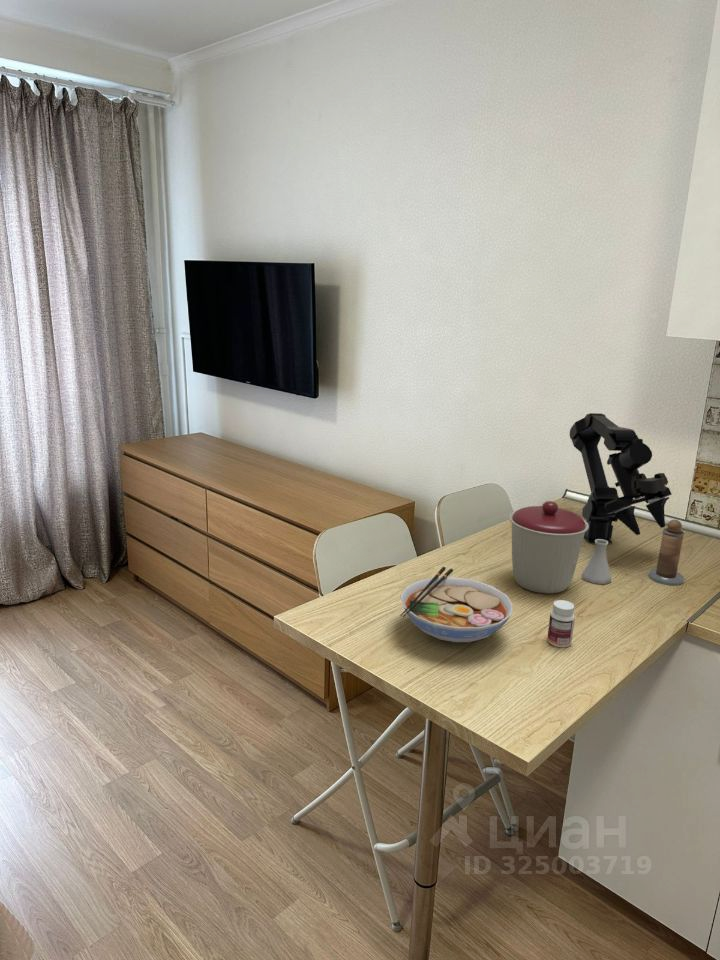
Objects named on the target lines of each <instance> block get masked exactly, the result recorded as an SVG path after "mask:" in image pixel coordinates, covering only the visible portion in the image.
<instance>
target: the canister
mask: <svg viewBox="0 0 720 960" xmlns="http://www.w3.org/2000/svg"><path fill="white" fill-rule="evenodd" d="M508 519H509V522H510V523H511V558H512V560H511V561H512V563H511V564H512V575H513V577H514V580H515V582H516V583H517V584H518V585H519V586H521V587H522V588H524V589H526V590H529V591H532V592H535V593H538V594H539V593H540V594H557V593H560V592H563V591H565V590H567V588H569V586H570V585H571V583H572V580H573V578H574V574H575V572H576V567H577V564H578V561H579V557H580V554H581V553H580V552H581V550H582V549H581V548H582V544H583V541H584V539H585V537H584V533H585V532H586V531H587V530H588V528H589V525H588V523H587V522H586V519H585V518H584V519H583V518H582V517H581V516H580V515H579V514H577V513H575V512H572V511H570V510H568V509H564V508H559V506H558V504H557V503H556V502H555V501H550V500H547V501H545V502H543V503H542V505H533V506H526V507H521V508H519V509H516V510H514V511H512V512H511V513H510V515H509V517H508Z"/></svg>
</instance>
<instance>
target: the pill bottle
mask: <svg viewBox="0 0 720 960" xmlns="http://www.w3.org/2000/svg"><path fill="white" fill-rule="evenodd" d="M552 604H553V605H552V610H551V611H550V613H549V622H548V630H547V638H546V639H547V640H546V641H547V642H548V643H549V644H551V646H552V645H553V646H554V647H557V648H566V647H567V648H568V647H570V646H571V645H572V641H573V633H574V626H575V619H576V616H575V614H574V612H575V605H574V603H572V602H571V601H568V600H562V599H557V600H554V602H553V603H552Z"/></svg>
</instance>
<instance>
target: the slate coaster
mask: <svg viewBox="0 0 720 960" xmlns="http://www.w3.org/2000/svg"><path fill="white" fill-rule="evenodd" d="M656 570H657V567H655V568H650V570H649V571H648V577H649V579H651V580H652V581H653V582H656V583H659V584H663V585H665V586H680V585H682V584H683V583H684V579H685V577H684V575H682V574H681V573H680V572H678V571H677V574H676V577H675V578H664V577H661V576H659V575H657V574H656Z"/></svg>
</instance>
